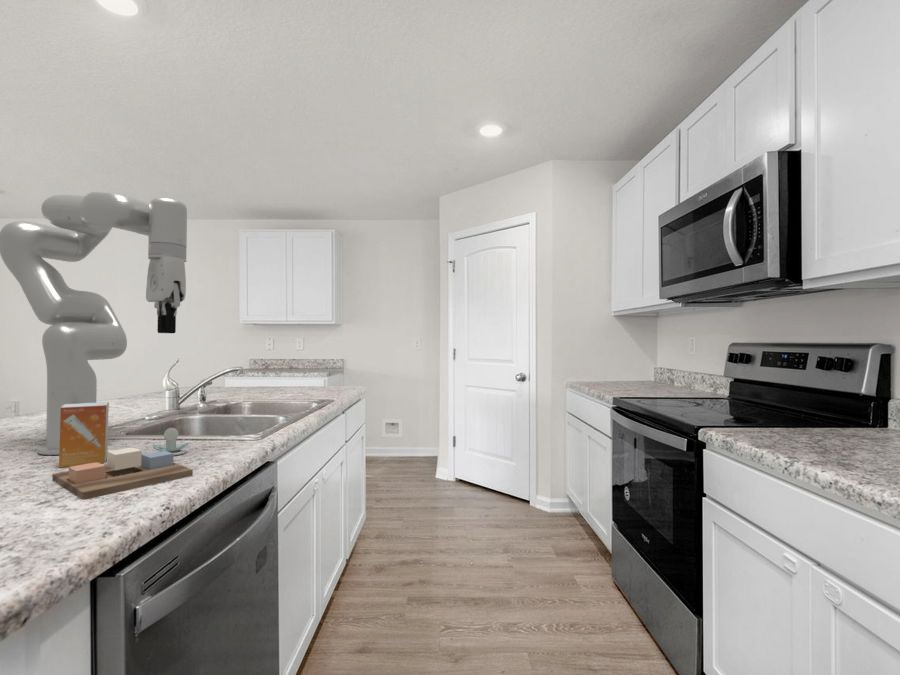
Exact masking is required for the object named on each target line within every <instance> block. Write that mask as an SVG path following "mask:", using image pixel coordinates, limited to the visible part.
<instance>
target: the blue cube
mask: <svg viewBox="0 0 900 675" xmlns="http://www.w3.org/2000/svg"><path fill="white" fill-rule="evenodd" d="M174 459H175V456H174V454H173V453H170V452H167V451H155V452H149V453H143V454H142V453H141V467H143V468H146V469H148V470H151V469H156V468H161V467H166V466H171V465H174V463H175V462H174V461H175V460H174Z"/></svg>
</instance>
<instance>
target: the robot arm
mask: <svg viewBox="0 0 900 675" xmlns="http://www.w3.org/2000/svg"><path fill="white" fill-rule="evenodd" d="M40 209H41V214H42V215H43V218H45V220H46V221H47V222H49V223H50V224H51V225H53V226H51V225H47V224H42V223H37V222H32V221H31V222H30V221H13V222H9V223H7V224H5V225H4V226H2V228H1V229H0V258H1V260H2V262H3V264H4V265H5V266H6V268H7V269H8V270H9V272H10V273H11V274H12V276H13V277H14V278H15V279H16V281H17V282H18V283H19V286H20V287H21V289H22V292H23V294H24V295H25V297H26V298H27V299H26V300H27V302H28V303H29V305H30V307H31V309H32V311H33V312H34V314H35V316H36V317H37V319H38V320H39V321H40V322H42V323H43V324H45V325H49V327H47V328H46V329H45V330H44V332H43V334H42V338H41V343H42V345H41V346H42V348H43V353H44V357H45V363H46V364H45V365H46V426H45V427H46V430H45V432H46V434H45V438H46V439H45V443H46V444H44V445H41V446H38V447H37V450H36V451H37V454H39V455H44V456H46V455H47V456H53V455H54V456H59V441H60V411H61V407H62V406H63V405H64V404H80V403H97V386H98V385H97V384H98V383H97V375H96V373H95V371H94V369H93V367H92V366H91V365H90V363H89V362H88V361H95V360H96V361H97V360H112V359H116V358H119V357H121V356H122V355H123V354H124V353H125V351H126V350H127V346H128V339H127V335H126V333H125V330H124V328H123V326H122V324H121V323H120V321H119V318H118V317H117V315H116V313H115V312H114V310H113V307H112V306H111V305H110V303H109V301H108V300H107V299H106V298H105V297H104V296H102V295H101V294H98V293H97V292H92V291H87V290H77V289H72V288H71V287H69V285H68V284H66V281H65V279H64V278H63V276H62V274H61V273H60V272H59V270H57V269H56V268H55V267H54V266H53V265H52V264H50V263H49V262H48V261H47V260H45V259H48V260H56V261H62V262H67V263H68V262H69V263H70V262H71V263H75V262H76V263H77V262H81V261H82V260H84V259H85V258H86V257H87V256H89V254H91V253H92V252H93V251H94V249H96V247H97V246H98V245H99V244H100V243H102V241H103V240H104V239H105V238H106V237H107V236H108V235H109V233H111V231H112V229H113V228H114V229H118V230H124V231H127V232H130V233H136V234H139V235H144V236H146V237H147V236H148V245H147V246H148V249H147V250H148V254H147V256H148V258H147V259H148V260H149V263H148V269H147V277H146V286H145V287H146V292H145V300H146V301H147V302H148V303H154V305H153V306H154V308H155V309H156V314H157V315H156V316H157V333H158V334H176V330H177V328H176V326H177V324H176V323H177V314H178V308H179V307H180V306H181V303H182V302H183V301H185V299H186V292H187V290H186V288H187V287H186V286H187V285H186V284H187V281H186V278H187V277H186V268H185V267H186V266H185V263H187V246H188V243H187V242H188V241H187V240H188V238H187V236H188V235H187V234H188V229H187V227H188V209H187V206H186V205H185V204H184V202H182V201H179V200H177V199H173V198H168V197H155V198H153V199H151V200H150V201H149V202H145V201H144V200H140V199H136V198H133V197H130V196H127V195H125V194H124V195H123V194H120V193H114V192H102V191H91V192H88V193H87V194H86V195H72V194H71V195H70V194H56V195H51V196H49V197H47V198H46V199H45V200H44V201H43V202H42V205H41V208H40ZM54 226H55V227H54Z"/></svg>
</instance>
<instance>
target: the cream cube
mask: <svg viewBox="0 0 900 675" xmlns="http://www.w3.org/2000/svg"><path fill="white" fill-rule="evenodd" d="M141 455H142V450H141V449H138V448H135V447H126V448H121V449H113V450H108V451H107V458H106V464H107V467H109V468H111V469H113V470H120V469H125V468H131V467H136V466H141Z"/></svg>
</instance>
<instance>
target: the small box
mask: <svg viewBox="0 0 900 675" xmlns="http://www.w3.org/2000/svg"><path fill="white" fill-rule="evenodd" d="M109 408H110V402H109V401H104V402H103V401H102V402H101V401H100V402H96V403H80V404H64V405H63V406H62V407H61V411H60V441H59V455H58V467H59V468H64V467H65V468H66V467H67V468H68V467H72V466H77V465H83V464H89V463H95V462H98V463H100V464H106V462H107V451H109V446H108V445H109V443H108V442H109V410H110V409H109Z"/></svg>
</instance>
